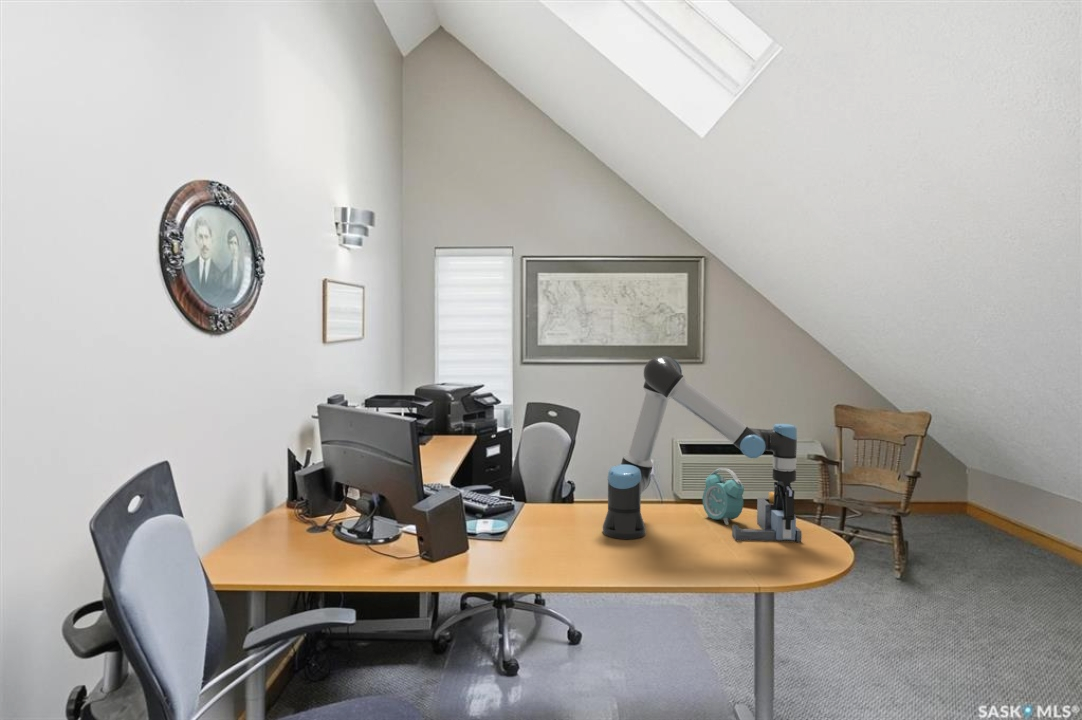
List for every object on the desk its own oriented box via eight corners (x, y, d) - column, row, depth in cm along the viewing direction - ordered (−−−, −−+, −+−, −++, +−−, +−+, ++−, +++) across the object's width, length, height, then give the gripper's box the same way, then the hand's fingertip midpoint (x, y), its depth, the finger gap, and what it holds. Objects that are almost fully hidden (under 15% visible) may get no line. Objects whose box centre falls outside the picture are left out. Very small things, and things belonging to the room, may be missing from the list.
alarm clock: (697, 515, 236) (698, 465, 235) (716, 512, 240) (717, 463, 239) (728, 527, 220) (729, 474, 220) (748, 524, 224) (748, 471, 224)
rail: (735, 540, 206) (735, 529, 206) (732, 536, 211) (732, 524, 211) (801, 542, 204) (801, 531, 204) (796, 537, 209) (796, 526, 209)
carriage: (777, 540, 204) (777, 516, 204) (771, 533, 211) (771, 510, 211) (795, 540, 203) (795, 516, 203) (788, 533, 210) (788, 510, 210)
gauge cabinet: (765, 532, 215) (766, 505, 214) (757, 523, 225) (757, 497, 225) (794, 533, 214) (794, 505, 214) (784, 524, 225) (784, 498, 224)
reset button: (771, 504, 218) (771, 494, 218) (767, 501, 222) (767, 491, 222) (783, 504, 217) (783, 494, 217) (779, 501, 222) (779, 491, 222)
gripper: (806, 475, 196) (804, 544, 197) (785, 463, 216) (784, 526, 217) (782, 475, 197) (781, 544, 197) (764, 462, 217) (763, 525, 217)
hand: (783, 534), depth 207 cm, fingers closed on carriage, 7 cm apart
